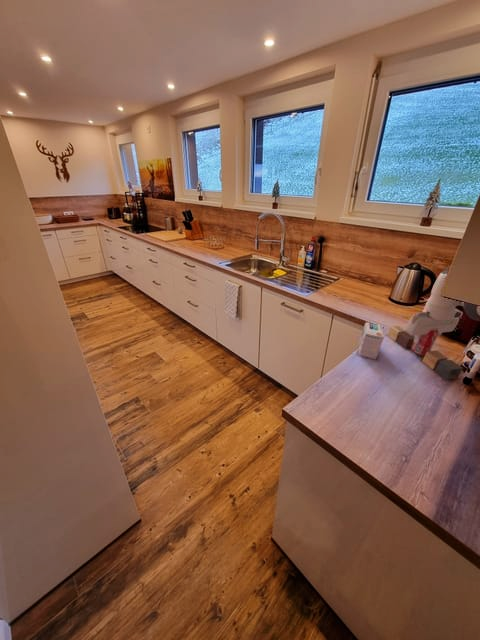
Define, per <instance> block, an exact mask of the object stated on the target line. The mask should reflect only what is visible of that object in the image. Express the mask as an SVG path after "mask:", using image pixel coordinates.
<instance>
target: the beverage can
mask: <svg viewBox="0 0 480 640" xmlns="http://www.w3.org/2000/svg"><path fill="white" fill-rule="evenodd" d="M437 335H438V329H436V330H431V331H430V332H429V333H427V334H423V335H421V336H420V339H421V341H420V343H415V342H414V343H413V346H412V348H411V350H412V351H413V352H414V353H416V354H418V355H421V356H425V354H426V352H428V351H432V348H433V346H434V343H435V342H436V341H435V339H436V337H437ZM436 340H437V339H436Z"/></svg>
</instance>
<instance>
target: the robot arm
mask: <svg viewBox="0 0 480 640" xmlns="http://www.w3.org/2000/svg"><path fill="white" fill-rule="evenodd" d="M449 269H450V268H448V269H445V270H443V271H441V272H440V274H439V275H438V276H437V278H436V279H435V282H434V284H433V286H432V289H431V294H430V297H428V298H427V300H426V303H425V305H424V308H423V310H422V312H421V311H419V312H417V313H415V314H414V315H412V316H411V317H410V319H409V321H408V322H407V324H406V326H405V328H404V329H405V330H406V332H407V333H409V334H410V335H412V336H414V337H415V338H414V342H415V343H420V341H421V339H420V336H421V335H423V334H427V333H429V332H430V331H431V330H436V329H438V335H437V337H436V339H435V341H434V342H436V340H437V339H438V338H439V337H440V336H442V333H450V332H451V333H452V332H453V331H454V330H455V328H456V327H457V325H458V323H459V322H460V318H461V317H462V316H463V314H464V312H465V314H466V316H467V317H468V318H469V319H471V320H474V321H477V322H480V306H477V305H472V304H469V303H464V302H460V301H456V300H452V299H448V298H444V297H441V296H440V292H441V289H442V287H443V284H444V281H445V278H446V276H447V274H448V271H449ZM457 306H461V307H463V310H464V312H463V311H461V310H459V309H458V308H456V307H457Z"/></svg>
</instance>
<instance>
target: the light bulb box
mask: <svg viewBox="0 0 480 640" xmlns="http://www.w3.org/2000/svg"><path fill="white" fill-rule="evenodd" d="M384 334H385V333H384V327H383V325H382V324H378V323H374V322H373V323H372V322H367V321H365V323H364V326H363V329H362V333H361V336H360V339H359V342H358V356H361V357H365V358H368V359H373V360H377V357H378V354H379V351H380V349H381V347H382V343H383V341H384V338H385V335H384Z"/></svg>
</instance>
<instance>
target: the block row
mask: <svg viewBox="0 0 480 640" xmlns="http://www.w3.org/2000/svg"><path fill="white" fill-rule="evenodd" d="M405 329H406V328H404V327H402V326H401V325H393V326H392V325H390V326H389V330H388V333H387V337H389V338H390V339H392V340H393V341H394V342H396V343H397V344H398V345H400V346H401V347H402V348H403V349H405V350H406V349H412V346H413V343H414V338H415V337H414V336H412V335H410V334H409V333H407V332H406V330H405ZM422 363H424V364H425V365H426V366H427V367H429V368H430V369H431V370H434V372H435V373H437V374H438V375H439V376H441V377H442V378H443V379H445V380H446V381H448V380H455V379H458V378H459V377H460V374H461V373H462V371H463V369H464V367H463V366H461V365H459V364H458V363H456V362H455V361H454V360H452V359H449V357H447V356H446V355H444V354H443V353H442V352H440V351H439V350H430V351H428V352H426V354H425V355H423V358H422Z"/></svg>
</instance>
